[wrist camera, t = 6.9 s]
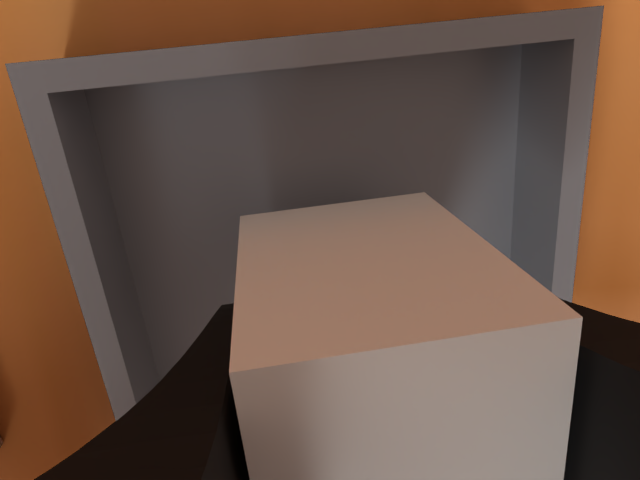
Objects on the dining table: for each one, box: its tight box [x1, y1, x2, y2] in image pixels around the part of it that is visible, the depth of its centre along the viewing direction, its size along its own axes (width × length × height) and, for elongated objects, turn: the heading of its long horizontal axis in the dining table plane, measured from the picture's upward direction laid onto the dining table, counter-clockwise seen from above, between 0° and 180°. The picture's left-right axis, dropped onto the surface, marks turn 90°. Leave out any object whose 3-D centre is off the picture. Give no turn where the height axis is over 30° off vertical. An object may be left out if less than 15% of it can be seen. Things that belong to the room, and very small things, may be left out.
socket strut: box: [229, 192, 583, 480], centre depth 9 cm, size 4×4×6 cm
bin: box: [5, 6, 604, 421], centre depth 13 cm, size 12×12×3 cm
